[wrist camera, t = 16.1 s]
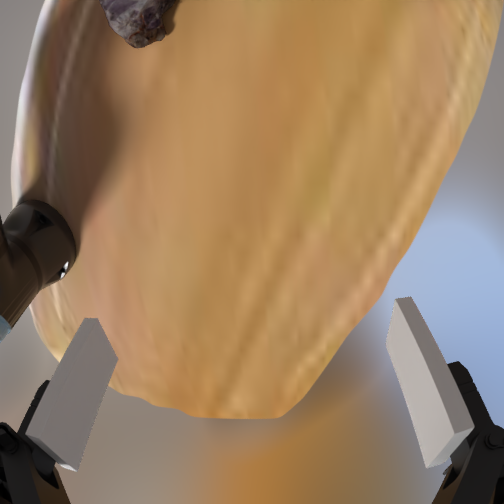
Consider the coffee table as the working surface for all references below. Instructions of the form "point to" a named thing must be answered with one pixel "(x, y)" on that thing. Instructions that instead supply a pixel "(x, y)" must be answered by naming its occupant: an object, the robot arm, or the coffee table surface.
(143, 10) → the rock
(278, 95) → the coffee table surface
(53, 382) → the robot arm
